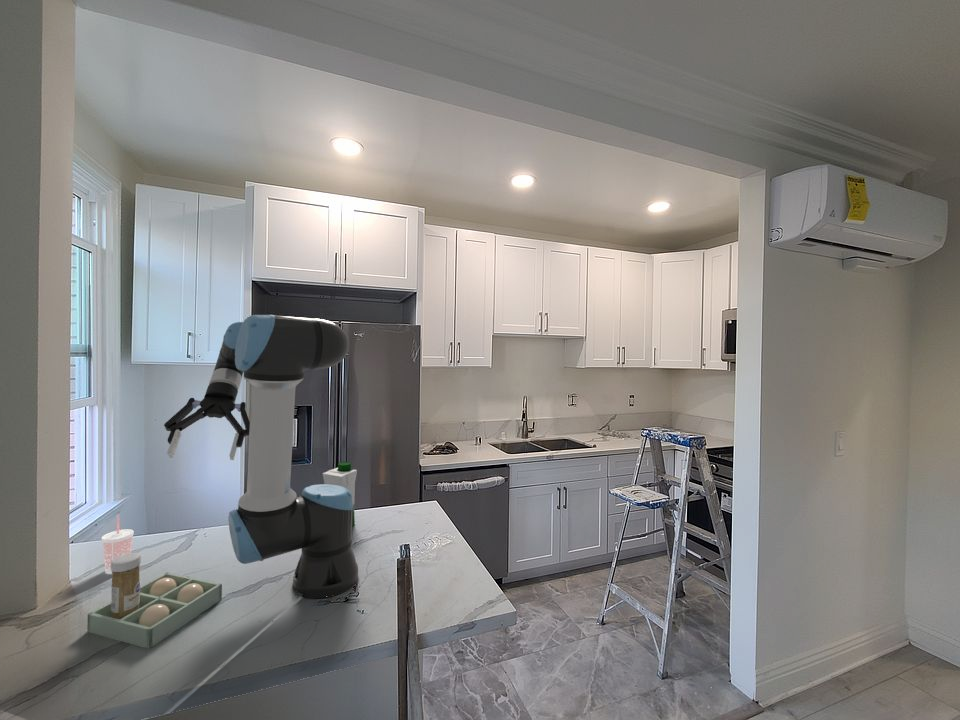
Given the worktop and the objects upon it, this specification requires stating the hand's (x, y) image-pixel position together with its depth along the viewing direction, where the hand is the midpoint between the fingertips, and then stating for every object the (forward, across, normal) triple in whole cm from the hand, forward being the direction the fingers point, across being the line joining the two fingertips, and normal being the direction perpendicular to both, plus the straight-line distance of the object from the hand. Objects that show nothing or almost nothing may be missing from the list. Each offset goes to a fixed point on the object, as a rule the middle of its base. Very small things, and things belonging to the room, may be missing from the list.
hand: (201, 456), depth 104 cm
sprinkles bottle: (+36, +4, -2) cm, 36 cm away
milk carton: (+10, -37, -28) cm, 48 cm away
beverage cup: (+21, +16, -23) cm, 35 cm away
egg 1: (+31, 0, -7) cm, 32 cm away
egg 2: (+38, -2, +2) cm, 38 cm away
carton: (+35, -1, -3) cm, 35 cm away
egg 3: (+33, -6, -3) cm, 34 cm away
